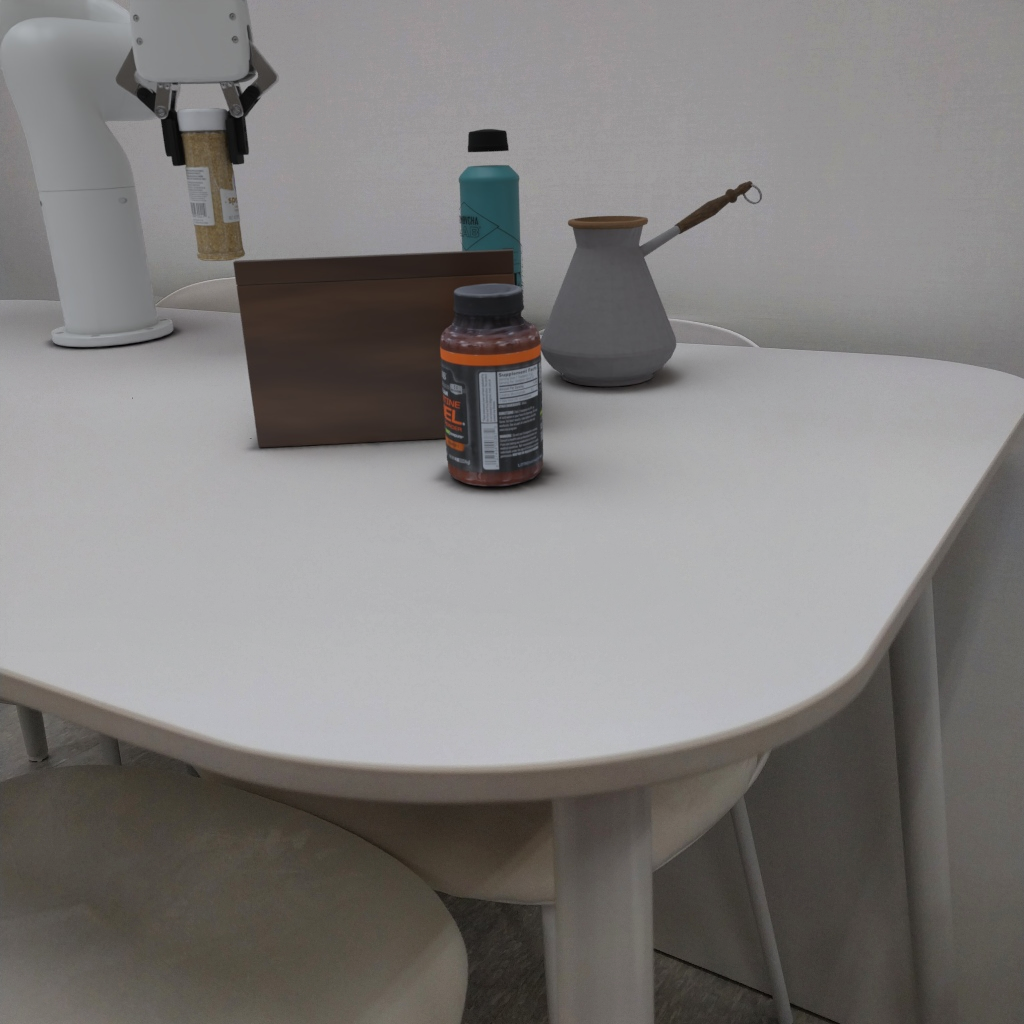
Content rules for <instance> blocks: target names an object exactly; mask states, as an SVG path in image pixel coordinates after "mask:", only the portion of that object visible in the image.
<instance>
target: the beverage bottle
mask: <svg viewBox="0 0 1024 1024" xmlns="http://www.w3.org/2000/svg"><path fill="white" fill-rule="evenodd" d="M467 136H468V138H467V141H468V142H467V153H491V152H492V153H493V152H509V142H508V133H507V130H503V129H496V128H483V129H477V130H472V131H469V132H468V135H467ZM458 183H459V202H460V203H459V204H460V207H459V210H458V211H459V213H460V214H459V215H458V217H459V219H458V220H459V221H458V222H459V225H460V230H459V237H461V251H478V250H502V249H513V255H514V285H515V286H519V287H521V288H522V290H524V282H523V277H524V276H523V270H522V268H524V265H523V263H522V261H524V260H523V258H524V257H523V256H522V255H523V252H522V251H523V245H522V243H521V220H520V219H521V218H520V217H521V216H520V214H521V213H520V212H521V211H520V175H519V173H517V171H516V170H514V168H513V167H511V166H510V165H509V164H492V165H491V164H488V165H487V164H486V165H485V164H484V165H470V166H467V167H466V168H465V169H464V170H463V171H462V173H460V175H459V177H458ZM524 300H525V299H524V296H523V303H524V302H525V301H524Z"/></svg>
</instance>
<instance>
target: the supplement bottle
mask: <svg viewBox="0 0 1024 1024" xmlns="http://www.w3.org/2000/svg"><path fill="white" fill-rule="evenodd" d="M523 297H524V289H522V288H521V287H519V286H515V285H511V284H479V285H471V286H464V287H460V288H457V289H456V290H455V291H454V308H453V310H454V312H455V317H454V320H453V323H452V325H451V326H449V327H448V328H446V329H445V330H444V332H443V333H442V335H441V339H440V353H441V371H442V388H443V404H444V421H445V437H446V438H445V450H446V461H447V470H448V472H449V474H450V476H452V478H454V479H455V480H457V481H459V482H461V483H463V484H465V485H469V486H475V487H484V488H489V487H496V488H497V487H498V488H500V487H509V486H514V485H519V484H523V483H526V482H529V481H531V480H533V479H534V478H536V476H537V475H538V474H540V473H541V472H542V470H543V465H544V426H543V425H544V424H543V423H544V421H543V380H542V377H543V376H542V352H541V341H540V340H541V336H540V335H541V334H540V333H539V330H538V329H537V327H536V326H535V325H533V323H530V322H529V321H527V320H526V319H525V318H524V317H523V316H522V311H523V310H525V304H524V302H523V300H524V298H523Z"/></svg>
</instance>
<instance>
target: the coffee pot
mask: <svg viewBox="0 0 1024 1024" xmlns="http://www.w3.org/2000/svg"><path fill="white" fill-rule="evenodd" d="M751 188H754V189H755V190H756V191H757V192H758V194H759V199H758V201H756V202H755V201H752V200H750V199H749V198H748V197H747V195H746V193H747V192H749V191H750V190H751ZM739 196H743V198H744V200H745V201H746V202H747V203H749V204H751V205H757V204H759V203H760V202H761V201H762V200H763V194H762V191H761V189H760V188H759V187H758V186H757V185H756V184H753V181H751V180H748V181H745V182H743V183H740V184H738V186H737V187H735V188H734V189H732V188H728V189H727V190H726V191H725V194H724V195H721V196H719V197H716V198H714V199H712V200H709V201H707V202H705V203H703V205H701V206H699V207H698V208H697V209H695V210H694V211H693V212H691V213H690V214H688V215H687V216H685V217H684V218H683V219H681V220H680V221H678V222H677V223H676V224H674V225H673V226H672V227H671V228H668V229H667V230H665V231H663V232H662V233H660V234H658V235H656V236H654V237H653V238H652V239H650V240H648V241H647V242H645V243H643V244H642V245H640V241H641V236H642V232H643V228H644V226H645V225H647V224H648V222H649V219H648V217H644V216H635V215H598V216H585V217H577V218H572V219H568V221H567V225H568V227H571V228H572V231H573V235H574V240H575V245H576V246H575V250H574V252H573V255H572V257H571V260H570V263H569V265H568V268H567V270H566V272H565V275H564V278H563V281H562V283H561V286H560V288H559V290H558V294H557V296H556V298H555V301H554V304H553V307H552V309H551V312H550V314H549V318H547V319H548V320H547V322H546V325H545V327H544V330H543V333H542V334H541V336H540V341H541V355H542V356H543V358H544V360H545V361H546V362H547V363H548V364H549V366H550V367H551V368H552V369H553V370H555V371H557V372H559V373H560V374H562V375H561V377H562V379H563V380H564V381H566V382H569V383H572V384H575V385H582V386H588V387H589V386H590V387H622V386H623V387H624V386H629V385H630V386H632V385H637V384H640V383H645V382H646V381H649V380H651V379H652V378H654V373H655V372H657V371H659V370H660V369H662V368H663V367H664V366H665V365H666V364H667V363H668V362H669V361H670V360H671V358H672V357H673V354H674V353H675V351H676V348H677V339H676V338H677V337H676V335H675V332H674V330H673V327H672V325H671V322H670V319H669V317H668V315H667V312H666V309H665V307H664V305H663V302H662V300H661V297H660V294H659V292H658V289H657V286H656V284H655V282H654V279H653V276H652V273H651V271H650V269H649V267H648V264H647V262H646V259H645V257H647V256H648V255H650V254H651V253H652V252H653V253H654V252H655V251H656V250H657V249H659V248H660V247H661V246H663V245H665V244H666V243H668V242H669V241H671V240H673V239H674V238H675V237H677V236H679V235H681V234H683V233H685V232H687V231H688V230H690V229H692V228H694V227H696V226H698V225H700V224H701V223H703V222H706V221H707V220H708V219H711V218H713V217H714V216H716V215H717V214H718V213H719V212H721V210H723V209H724V208H725V207H726V206H727V205H728V204H734V203H736V202H737V201H738V197H739Z"/></svg>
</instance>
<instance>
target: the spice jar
mask: <svg viewBox="0 0 1024 1024" xmlns="http://www.w3.org/2000/svg"><path fill="white" fill-rule="evenodd" d="M228 111H229V110H227V109H225V108H219V107H195V108H194V107H193V108H183V109H182V108H181V109H178V110H176V112H177V118H178V127H179V131H181V137H182V140H183V149H184V154H185V163H186V165H185V174H186V182H187V189H188V196H189V204H190V210H191V211H190V212H191V217H192V223H193V226H194V233H195V239H196V245H197V246H196V247H197V252H196V257H197V259H198V260H201V261H203V262H204V261H205V262H206V261H207V262H227V261H235V260H238V259H241V258H243V257H245V256H246V252H245V249H244V246H243V238H242V229H241V223H240V222H241V218H240V217H241V216H240V208H239V202H238V194H237V187H236V178H235V170H234V167H233V163H230V157H229V149H228V141H227V133H226V124H225V120H227V118H228Z"/></svg>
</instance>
